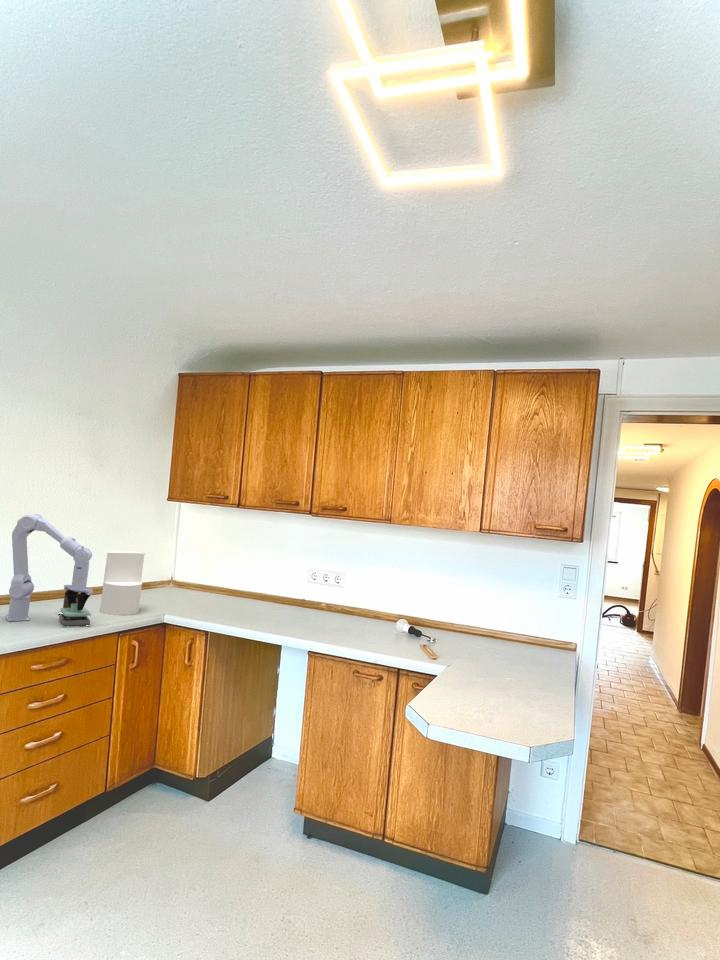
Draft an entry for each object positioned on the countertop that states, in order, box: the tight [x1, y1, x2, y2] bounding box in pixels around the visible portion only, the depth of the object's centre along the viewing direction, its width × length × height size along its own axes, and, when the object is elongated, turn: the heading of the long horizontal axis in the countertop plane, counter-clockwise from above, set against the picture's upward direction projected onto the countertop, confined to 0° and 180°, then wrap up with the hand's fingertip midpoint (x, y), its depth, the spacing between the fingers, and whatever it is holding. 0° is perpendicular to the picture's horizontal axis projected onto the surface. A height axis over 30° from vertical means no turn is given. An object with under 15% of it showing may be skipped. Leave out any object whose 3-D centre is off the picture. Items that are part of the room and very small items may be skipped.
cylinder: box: [99, 549, 145, 616], centre depth 270 cm, size 17×17×28 cm
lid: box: [59, 603, 92, 617], centre depth 239 cm, size 12×10×4 cm
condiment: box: [62, 590, 80, 608], centre depth 254 cm, size 7×8×12 cm
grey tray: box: [58, 614, 91, 627], centre depth 239 cm, size 12×10×2 cm
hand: (75, 609), depth 239 cm, fingers closed on lid, 4 cm apart
